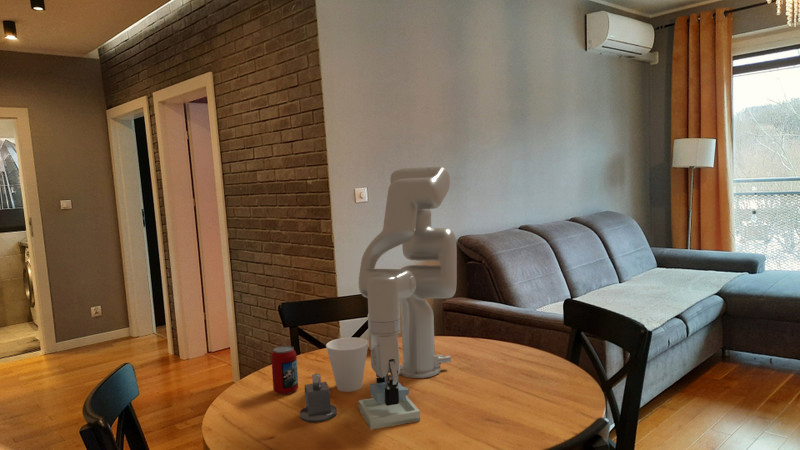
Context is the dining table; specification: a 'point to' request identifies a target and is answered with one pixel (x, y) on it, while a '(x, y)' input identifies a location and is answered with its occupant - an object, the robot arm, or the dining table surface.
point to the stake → (317, 402)
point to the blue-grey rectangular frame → (379, 392)
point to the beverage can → (284, 370)
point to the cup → (348, 362)
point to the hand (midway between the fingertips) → (387, 398)
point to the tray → (388, 413)
